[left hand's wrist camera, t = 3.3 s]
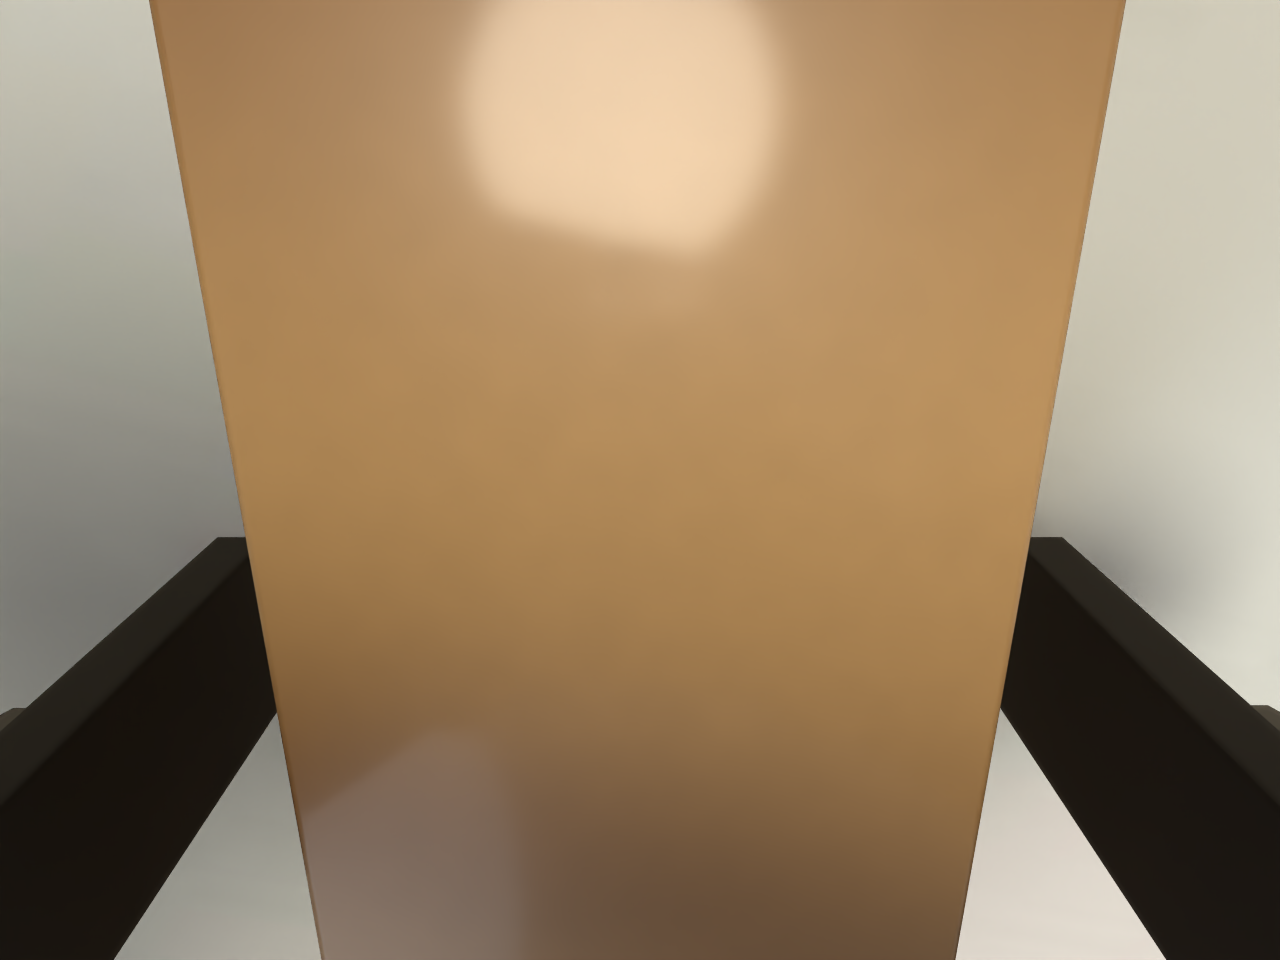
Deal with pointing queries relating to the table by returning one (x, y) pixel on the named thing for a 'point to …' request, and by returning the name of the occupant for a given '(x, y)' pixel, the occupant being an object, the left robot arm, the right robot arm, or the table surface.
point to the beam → (637, 445)
